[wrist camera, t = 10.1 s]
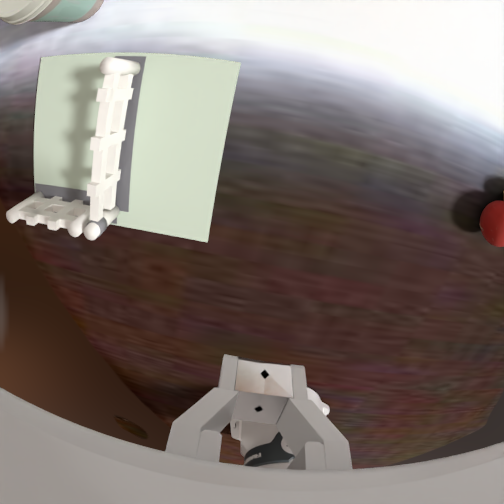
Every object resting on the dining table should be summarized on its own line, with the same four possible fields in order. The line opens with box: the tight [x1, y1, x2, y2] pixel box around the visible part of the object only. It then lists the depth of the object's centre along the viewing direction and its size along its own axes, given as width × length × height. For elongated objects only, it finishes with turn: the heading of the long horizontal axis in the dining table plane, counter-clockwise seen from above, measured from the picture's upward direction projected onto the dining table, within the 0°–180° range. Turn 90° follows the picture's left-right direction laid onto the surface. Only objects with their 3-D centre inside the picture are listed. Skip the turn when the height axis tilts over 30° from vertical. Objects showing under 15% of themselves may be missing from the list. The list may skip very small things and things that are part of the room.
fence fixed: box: [6, 191, 105, 237], centre depth 30 cm, size 11×2×6 cm, turn 78°
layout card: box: [34, 53, 241, 242], centre depth 30 cm, size 20×24×1 cm
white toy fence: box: [84, 57, 141, 240], centre depth 27 cm, size 18×2×6 cm, turn 166°
